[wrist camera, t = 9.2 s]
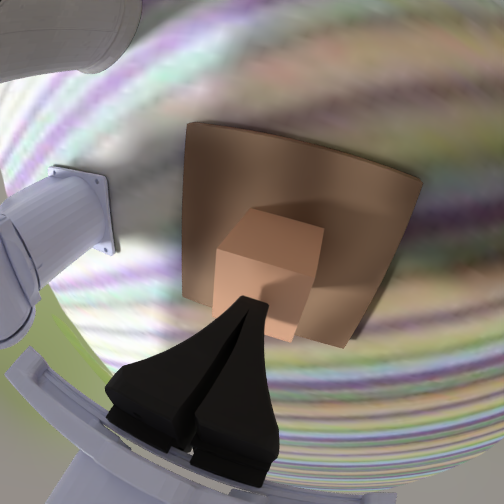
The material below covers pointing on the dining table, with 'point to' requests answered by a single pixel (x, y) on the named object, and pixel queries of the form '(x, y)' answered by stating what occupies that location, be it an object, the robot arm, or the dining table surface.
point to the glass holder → (64, 35)
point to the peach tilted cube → (268, 268)
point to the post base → (295, 216)
